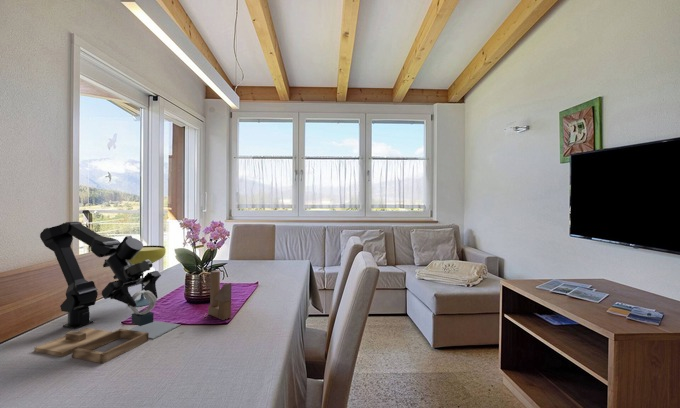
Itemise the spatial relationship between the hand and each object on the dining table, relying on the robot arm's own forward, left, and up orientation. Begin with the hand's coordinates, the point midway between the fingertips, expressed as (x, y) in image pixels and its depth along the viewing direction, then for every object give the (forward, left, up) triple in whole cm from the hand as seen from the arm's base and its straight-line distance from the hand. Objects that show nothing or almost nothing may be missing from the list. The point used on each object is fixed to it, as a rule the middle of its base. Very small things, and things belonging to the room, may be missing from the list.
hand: (146, 302), depth 105 cm
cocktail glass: (-30, +26, -11) cm, 41 cm away
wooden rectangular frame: (-1, -11, -11) cm, 16 cm away
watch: (-1, 0, -7) cm, 7 cm away
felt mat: (-1, +4, -11) cm, 12 cm away
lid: (-16, -11, -11) cm, 23 cm away
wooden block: (+14, +22, -11) cm, 28 cm away
